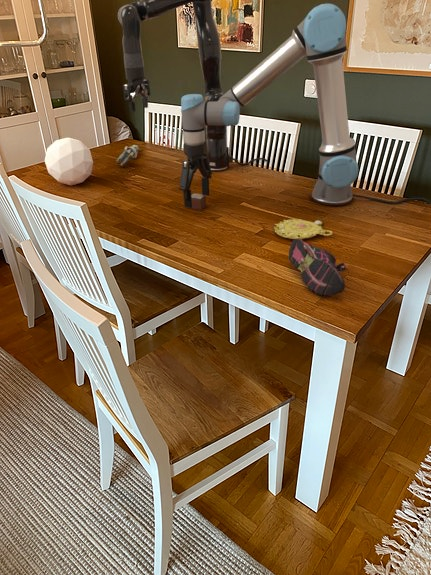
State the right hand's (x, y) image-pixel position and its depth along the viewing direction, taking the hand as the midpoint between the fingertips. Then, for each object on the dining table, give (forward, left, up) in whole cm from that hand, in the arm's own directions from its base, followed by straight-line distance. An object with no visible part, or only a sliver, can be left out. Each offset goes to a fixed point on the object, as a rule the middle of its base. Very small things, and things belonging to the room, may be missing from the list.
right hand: (197, 200), depth 166 cm
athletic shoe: (-31, +57, -3) cm, 65 cm away
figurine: (+31, -68, -3) cm, 75 cm away
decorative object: (-33, +28, -3) cm, 43 cm away
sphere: (+53, -36, -3) cm, 64 cm away
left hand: (+20, -37, +26) cm, 50 cm away
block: (0, 0, -3) cm, 3 cm away
